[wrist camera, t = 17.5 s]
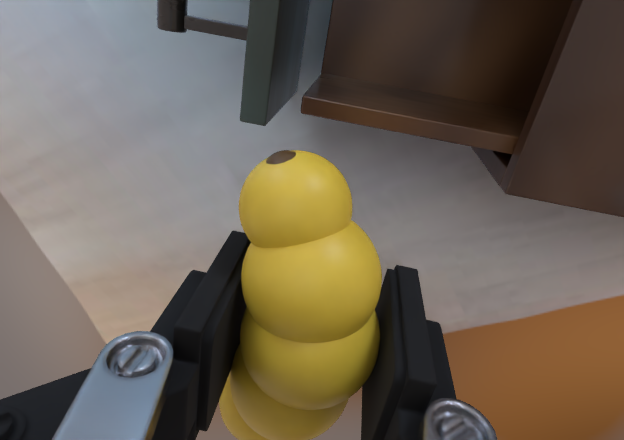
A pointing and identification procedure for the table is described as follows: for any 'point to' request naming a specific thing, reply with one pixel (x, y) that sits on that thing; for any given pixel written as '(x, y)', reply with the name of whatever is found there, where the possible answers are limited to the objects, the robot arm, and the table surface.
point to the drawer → (398, 63)
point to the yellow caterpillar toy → (301, 302)
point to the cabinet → (574, 119)
